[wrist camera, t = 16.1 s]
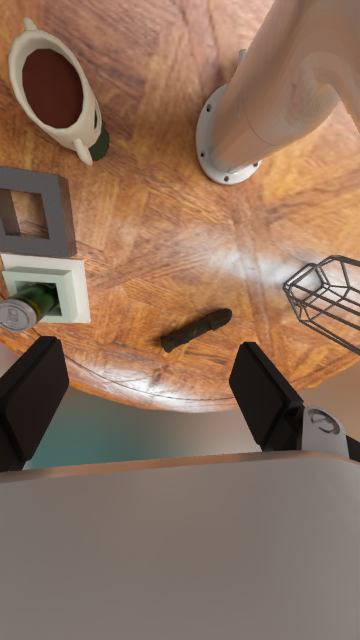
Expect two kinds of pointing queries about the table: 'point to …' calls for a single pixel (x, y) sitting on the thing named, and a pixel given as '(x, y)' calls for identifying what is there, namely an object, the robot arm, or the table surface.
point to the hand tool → (196, 329)
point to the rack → (51, 270)
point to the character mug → (56, 92)
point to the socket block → (3, 224)
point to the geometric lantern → (292, 298)
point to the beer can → (28, 306)
